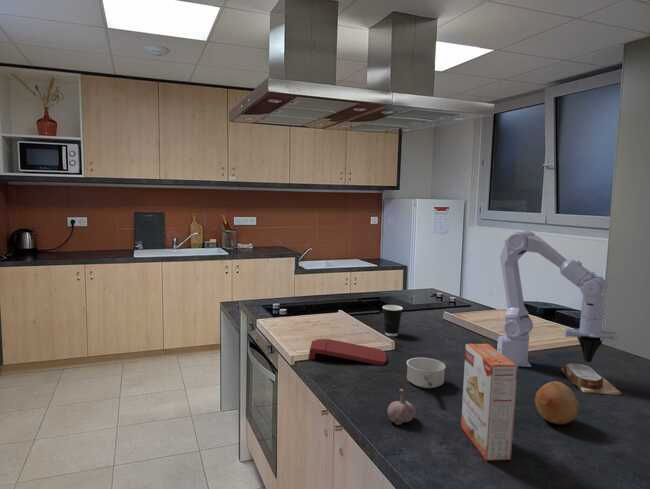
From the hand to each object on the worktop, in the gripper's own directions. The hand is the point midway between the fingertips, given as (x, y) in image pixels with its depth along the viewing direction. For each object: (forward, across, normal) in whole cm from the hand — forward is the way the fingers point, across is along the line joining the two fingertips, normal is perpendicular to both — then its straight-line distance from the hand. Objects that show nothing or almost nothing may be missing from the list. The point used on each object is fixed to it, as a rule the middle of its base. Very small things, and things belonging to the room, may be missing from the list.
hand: (587, 360), depth 140 cm
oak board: (+6, +1, 0) cm, 7 cm away
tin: (+4, -5, 0) cm, 7 cm away
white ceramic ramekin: (+7, -49, -14) cm, 51 cm away
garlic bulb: (+7, -57, -35) cm, 67 cm away
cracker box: (+7, -39, -43) cm, 58 cm away
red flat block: (+7, -73, +7) cm, 74 cm away
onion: (+7, -19, -29) cm, 35 cm away
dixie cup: (+7, -58, +36) cm, 69 cm away
